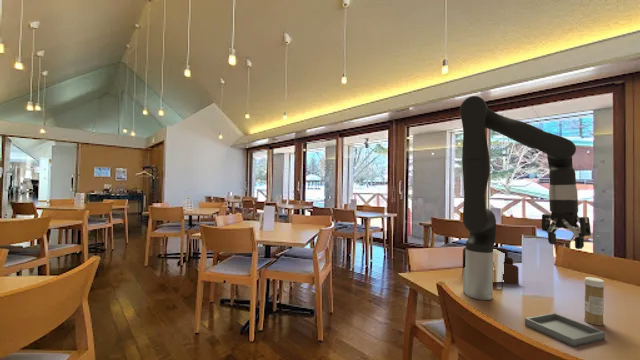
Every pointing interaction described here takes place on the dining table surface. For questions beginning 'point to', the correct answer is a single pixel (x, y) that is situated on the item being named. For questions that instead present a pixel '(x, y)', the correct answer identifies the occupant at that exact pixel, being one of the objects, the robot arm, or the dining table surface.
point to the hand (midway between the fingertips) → (565, 246)
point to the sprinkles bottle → (594, 300)
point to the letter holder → (509, 269)
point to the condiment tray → (565, 329)
